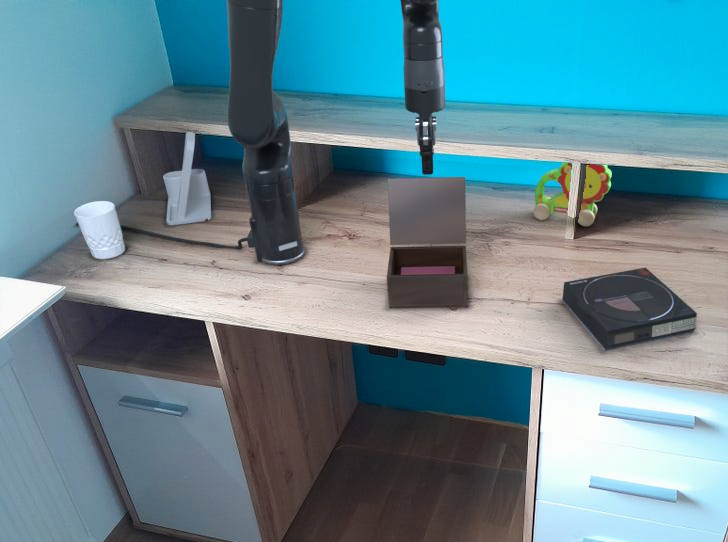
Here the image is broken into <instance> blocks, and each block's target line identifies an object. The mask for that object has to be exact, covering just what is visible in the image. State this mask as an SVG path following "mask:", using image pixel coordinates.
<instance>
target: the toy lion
mask: <svg viewBox="0 0 728 542" xmlns="http://www.w3.org/2000/svg"><path fill="white" fill-rule="evenodd" d="M571 170H572V164H571V163H563V162H562V163H561V165H560V166H559V168H554V169H551V170H549V171H547V172H545V173H544V174H542V176H541V177H540V179H539V181H538V183H537V185H536V187H535V195H534V205H535V206H534V208H533V216H534V217H535V218H536V219H537V220H539V221H545V220H548V218H549V216H550V215H552V214H557V213H559V214H566V215H568V214H567V211H568V202H569V192H570V182H571ZM612 173H613V172H612V170H611V169H610V168H609V167H608V164H607V165H594V164H590V165H587V166H586V179H585V184H584V192H583V199H582V204H581V210H580V213H579V219H578V221H577V223H578V224H579V225H580V226H582V227H591V226H592V225H593V223H594V221H595V219H596V215H597V213H598V206H597V204H596V203H597V202H600V201H602V200H603V198H604V196H605V195H606V194H608V193H609V191H610V189H611V186H612V181H611V179H612V176H613V174H612ZM550 181H555V182H556V183H558V184H559V185H560V186H561V188H562V192H560V193H557V194H555V195H554V196H552V197H550V196H548V195H545V185H546V183H548V182H550Z"/></svg>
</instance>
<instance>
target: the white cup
mask: <svg viewBox="0 0 728 542" xmlns="http://www.w3.org/2000/svg"><path fill="white" fill-rule="evenodd" d="M73 215H74V218H75V220H76V223H77V222H78V224H79V229H80V231H81V234H82V236H83V238H84V240H85V242H86V244H87V246H88V249H89V251H90V254H91V256H92V257H93V258H94V259H96V260H97V259H98V260H109V259H112V258H116V257H118V256H120V255H122V254H123V253H124V252H125V251H126V245H125V241H124V236H123V231H122V229H121V227H120V225H121V224H120V220H119V217H118V213H117V209H116V206H115V203H113V202H111V201H107V200H97V201H91V202H88V203H84V204H81V205H80V206H78V207H76V208H75V210H74V211H73Z"/></svg>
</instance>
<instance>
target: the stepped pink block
mask: <svg viewBox="0 0 728 542" xmlns="http://www.w3.org/2000/svg"><path fill="white" fill-rule="evenodd" d="M415 274H455V266H439V267H401V275H415Z"/></svg>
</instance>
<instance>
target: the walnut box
mask: <svg viewBox="0 0 728 542" xmlns="http://www.w3.org/2000/svg"><path fill="white" fill-rule="evenodd" d="M439 266H455V274H415V275H401V267H439ZM386 271H387V272H386V284H387V285H386V286H387V287H386V288H387V298H388V308H389V310H390V309H429V308H430V309H436V308H437V309H438V308H439V309H441V308H442V309H443V308H468V305H469V303H468V302H469V300H468V299H469V298H468V296H469V288H468V287H469V285H468V283H469V278H468V277H469V275H468V274H469V273H468V258H467V245H428V246H427V245H426V246H425V245H423V246H419V245H418V246H390V248H389V257H388V264H387V270H386Z"/></svg>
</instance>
